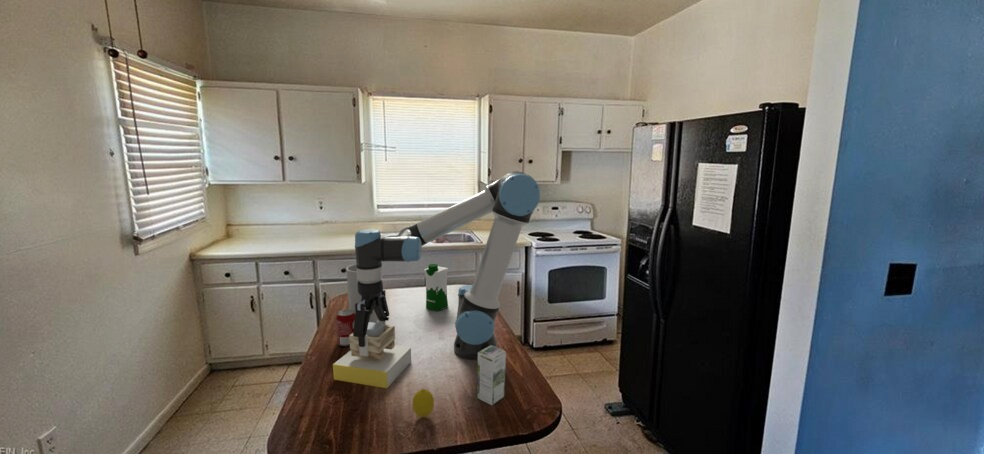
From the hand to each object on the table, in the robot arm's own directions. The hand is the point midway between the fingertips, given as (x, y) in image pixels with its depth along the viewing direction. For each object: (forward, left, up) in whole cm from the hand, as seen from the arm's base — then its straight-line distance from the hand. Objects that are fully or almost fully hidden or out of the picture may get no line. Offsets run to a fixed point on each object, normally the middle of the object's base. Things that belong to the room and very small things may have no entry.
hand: (373, 347), depth 133 cm
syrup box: (-40, +5, -8) cm, 41 cm away
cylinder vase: (+19, -27, -8) cm, 34 cm away
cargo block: (0, 0, +3) cm, 3 cm away
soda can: (+19, -14, -8) cm, 25 cm away
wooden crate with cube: (0, 0, -1) cm, 1 cm away
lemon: (-25, +18, -8) cm, 32 cm away
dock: (0, 0, -8) cm, 8 cm away
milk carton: (+1, -55, -8) cm, 56 cm away
